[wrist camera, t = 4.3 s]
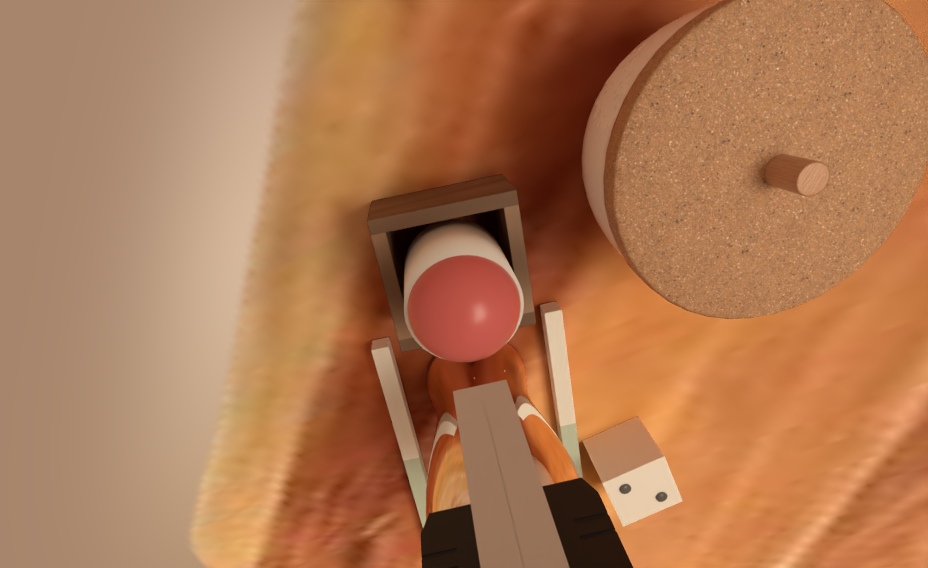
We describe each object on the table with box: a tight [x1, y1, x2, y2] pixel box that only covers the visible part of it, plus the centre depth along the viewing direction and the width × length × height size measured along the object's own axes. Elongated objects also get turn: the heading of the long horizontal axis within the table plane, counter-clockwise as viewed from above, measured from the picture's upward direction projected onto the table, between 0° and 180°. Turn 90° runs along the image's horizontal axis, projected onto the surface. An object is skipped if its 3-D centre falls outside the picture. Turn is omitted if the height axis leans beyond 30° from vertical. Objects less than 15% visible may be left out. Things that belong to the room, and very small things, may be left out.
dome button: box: [404, 219, 524, 362], centre depth 23 cm, size 5×5×7 cm
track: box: [371, 301, 583, 527], centre depth 35 cm, size 24×11×1 cm, turn 11°
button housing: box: [367, 174, 536, 352], centre depth 27 cm, size 7×7×4 cm
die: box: [582, 416, 682, 527], centre depth 34 cm, size 4×4×4 cm
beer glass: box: [426, 343, 581, 520], centre depth 26 cm, size 7×7×15 cm
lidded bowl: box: [582, 0, 928, 319], centre depth 23 cm, size 13×13×11 cm
